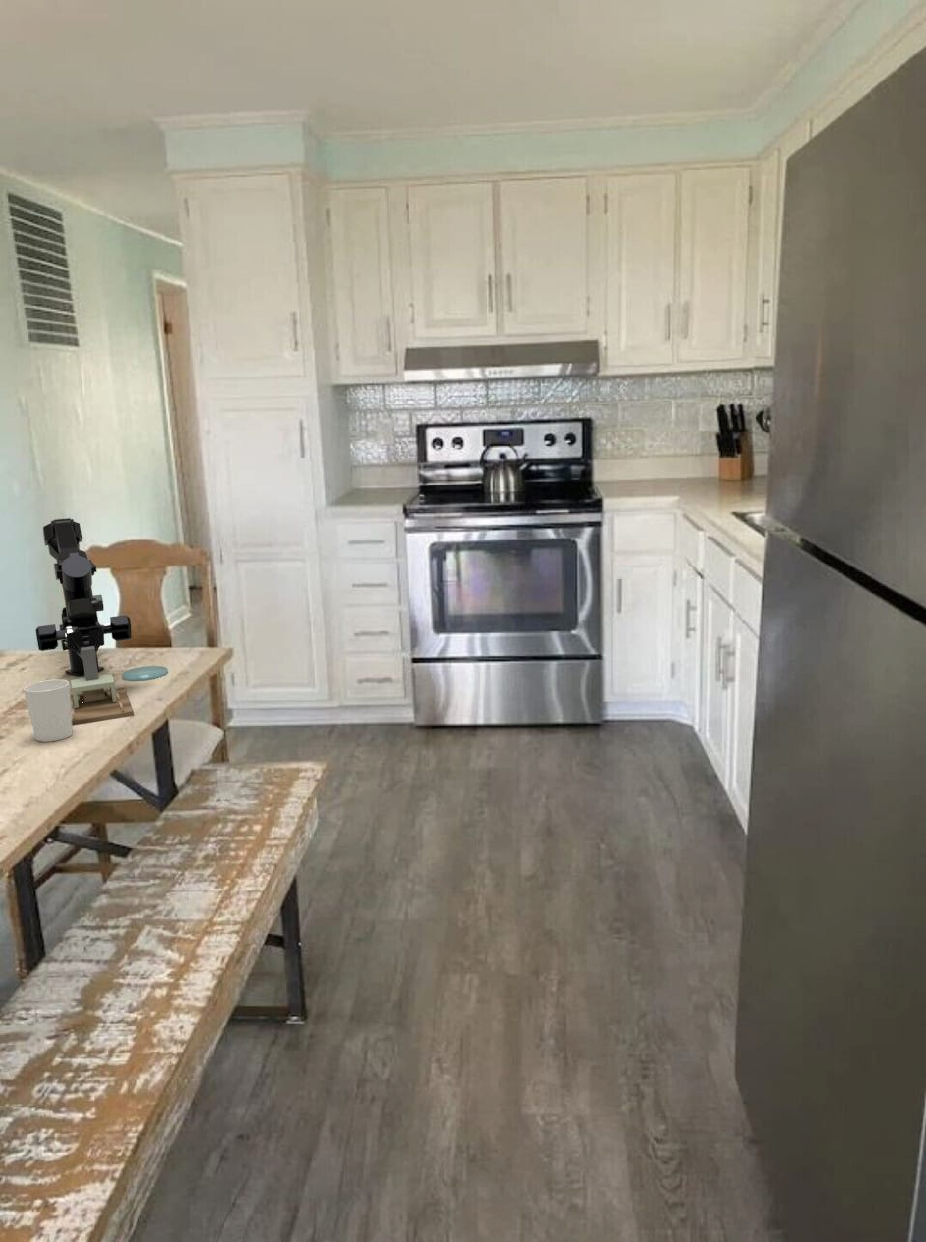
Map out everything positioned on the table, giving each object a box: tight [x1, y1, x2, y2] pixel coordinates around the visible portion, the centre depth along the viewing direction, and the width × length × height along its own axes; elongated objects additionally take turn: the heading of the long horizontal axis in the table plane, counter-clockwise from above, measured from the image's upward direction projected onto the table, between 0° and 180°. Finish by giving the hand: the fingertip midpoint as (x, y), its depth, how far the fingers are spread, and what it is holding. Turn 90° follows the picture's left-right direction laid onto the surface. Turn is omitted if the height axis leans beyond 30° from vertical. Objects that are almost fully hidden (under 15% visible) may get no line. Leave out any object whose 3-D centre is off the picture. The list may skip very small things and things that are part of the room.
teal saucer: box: [121, 665, 169, 682], centre depth 225 cm, size 10×10×1 cm
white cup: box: [23, 678, 74, 743], centre depth 185 cm, size 8×8×10 cm
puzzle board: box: [71, 686, 135, 726], centre depth 201 cm, size 19×13×1 cm
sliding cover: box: [70, 646, 117, 708], centre depth 201 cm, size 6×8×11 cm
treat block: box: [82, 688, 105, 702], centre depth 206 cm, size 4×4×4 cm
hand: (89, 666), depth 204 cm, fingers closed, pressing on sliding cover
